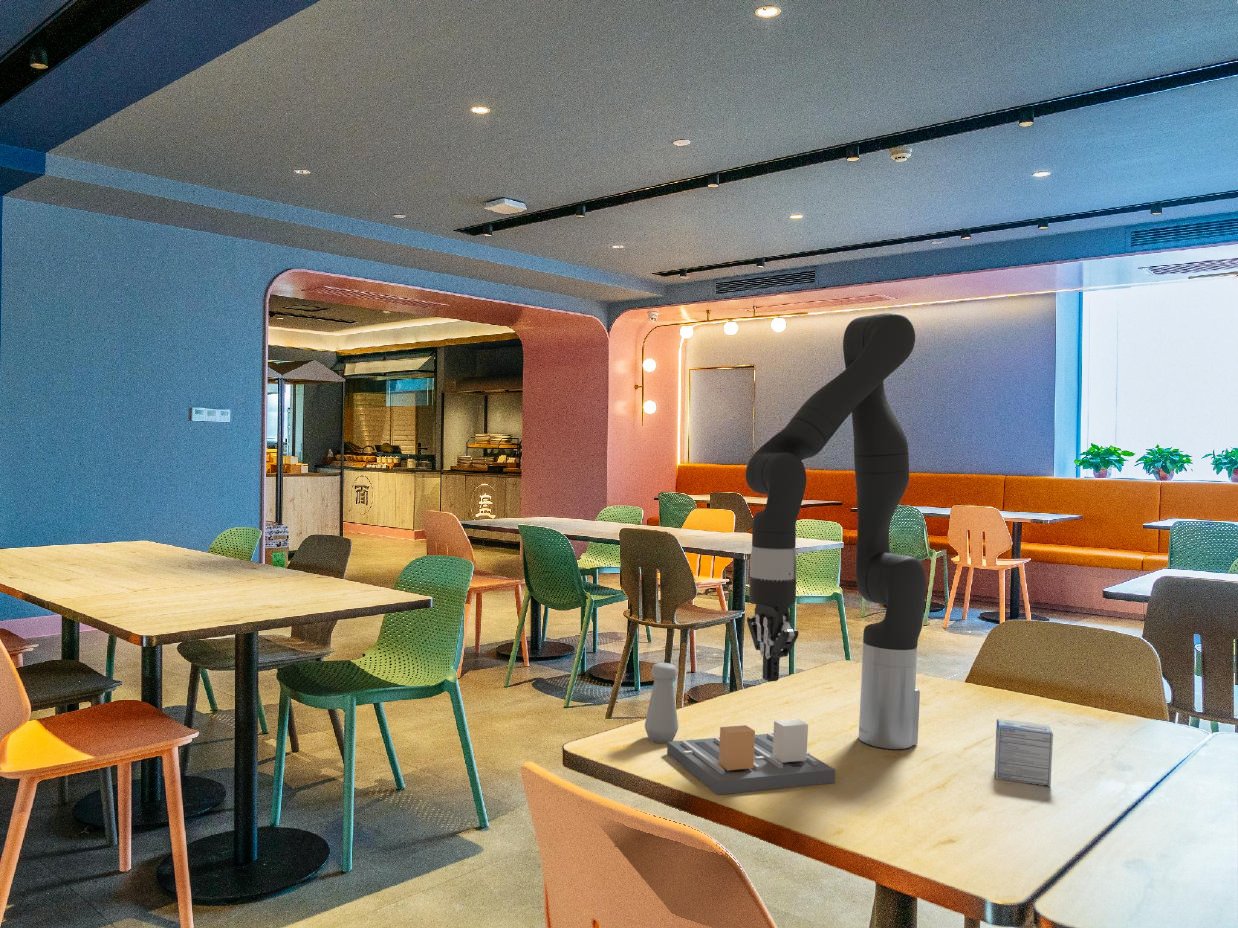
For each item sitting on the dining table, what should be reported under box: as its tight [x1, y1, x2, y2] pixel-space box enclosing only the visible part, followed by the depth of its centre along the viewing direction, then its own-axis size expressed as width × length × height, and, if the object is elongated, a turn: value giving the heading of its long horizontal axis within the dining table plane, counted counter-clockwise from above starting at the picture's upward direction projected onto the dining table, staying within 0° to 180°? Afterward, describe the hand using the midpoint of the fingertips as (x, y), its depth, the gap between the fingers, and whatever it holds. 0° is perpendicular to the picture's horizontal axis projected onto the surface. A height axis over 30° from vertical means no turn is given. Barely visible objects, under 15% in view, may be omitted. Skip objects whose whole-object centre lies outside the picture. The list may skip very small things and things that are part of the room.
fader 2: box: [772, 718, 809, 763], centre depth 137 cm, size 4×3×6 cm, turn 111°
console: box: [666, 732, 836, 796], centre depth 139 cm, size 20×18×3 cm
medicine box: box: [994, 718, 1054, 787], centre depth 140 cm, size 8×4×9 cm, turn 71°
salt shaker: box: [644, 662, 680, 744], centre depth 151 cm, size 6×6×13 cm
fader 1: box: [719, 724, 756, 770], centre depth 133 cm, size 4×3×6 cm, turn 111°
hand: (770, 679), depth 144 cm, fingers closed
